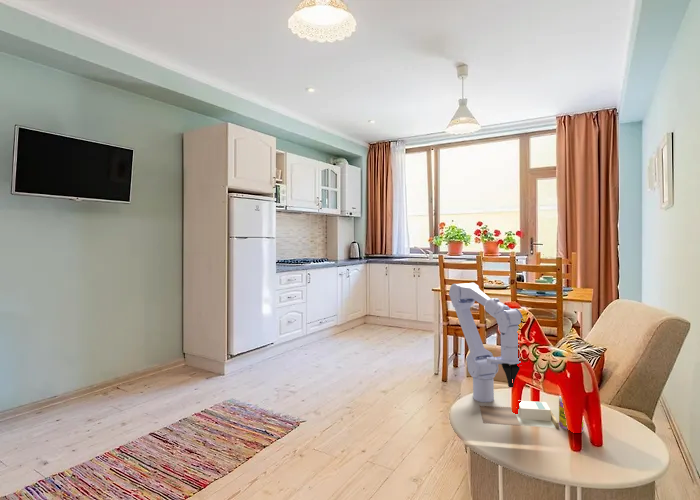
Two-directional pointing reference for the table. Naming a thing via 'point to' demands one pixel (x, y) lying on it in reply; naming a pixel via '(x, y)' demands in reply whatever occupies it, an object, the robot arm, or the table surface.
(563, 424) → the supplement bottle
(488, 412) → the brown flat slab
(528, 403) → the carton
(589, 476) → the table surface
